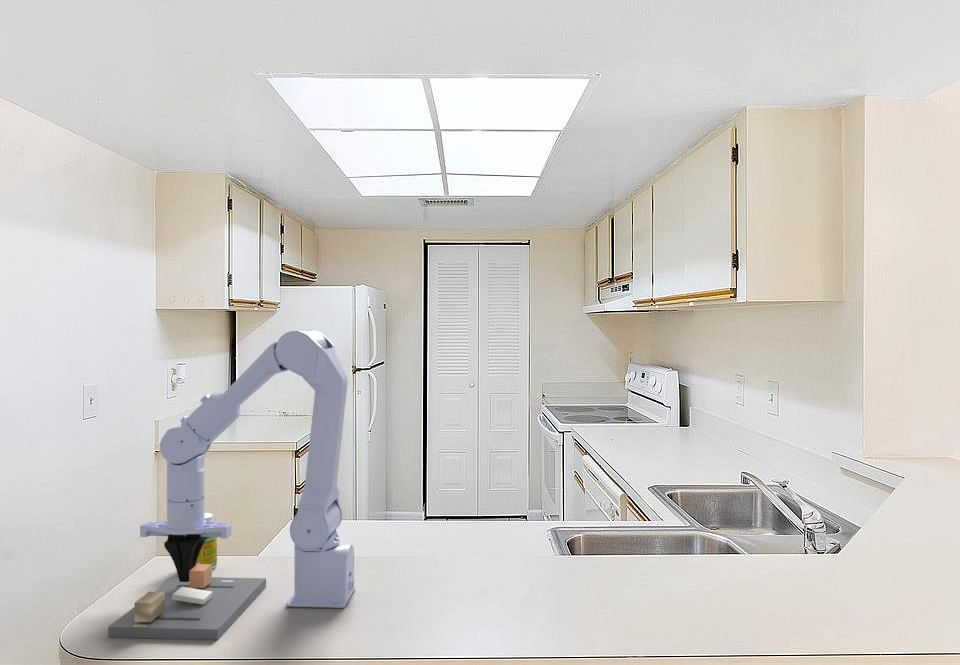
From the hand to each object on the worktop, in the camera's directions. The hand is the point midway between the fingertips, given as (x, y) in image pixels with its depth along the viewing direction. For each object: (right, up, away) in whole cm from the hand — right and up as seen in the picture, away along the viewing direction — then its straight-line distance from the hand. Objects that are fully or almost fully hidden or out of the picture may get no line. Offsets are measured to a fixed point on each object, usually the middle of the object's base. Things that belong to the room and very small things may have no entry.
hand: (186, 579), depth 110 cm
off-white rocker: (+4, 0, -6) cm, 7 cm away
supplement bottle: (-3, -3, +12) cm, 13 cm away
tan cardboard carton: (0, -1, -12) cm, 12 cm away
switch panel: (+4, -3, -6) cm, 7 cm away
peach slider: (+2, -1, 0) cm, 3 cm away
